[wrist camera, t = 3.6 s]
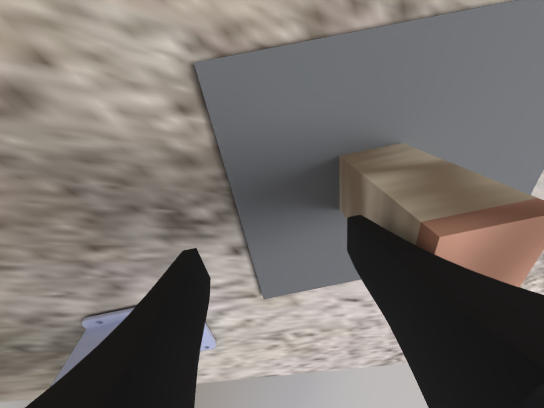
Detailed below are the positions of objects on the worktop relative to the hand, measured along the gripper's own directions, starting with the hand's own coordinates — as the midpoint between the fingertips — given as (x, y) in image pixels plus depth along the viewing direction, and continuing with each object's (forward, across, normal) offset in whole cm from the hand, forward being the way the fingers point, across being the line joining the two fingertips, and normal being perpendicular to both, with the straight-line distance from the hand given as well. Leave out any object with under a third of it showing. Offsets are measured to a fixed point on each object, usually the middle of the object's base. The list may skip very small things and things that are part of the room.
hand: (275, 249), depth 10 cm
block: (+5, -7, 0) cm, 8 cm away
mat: (+5, -9, +1) cm, 10 cm away
